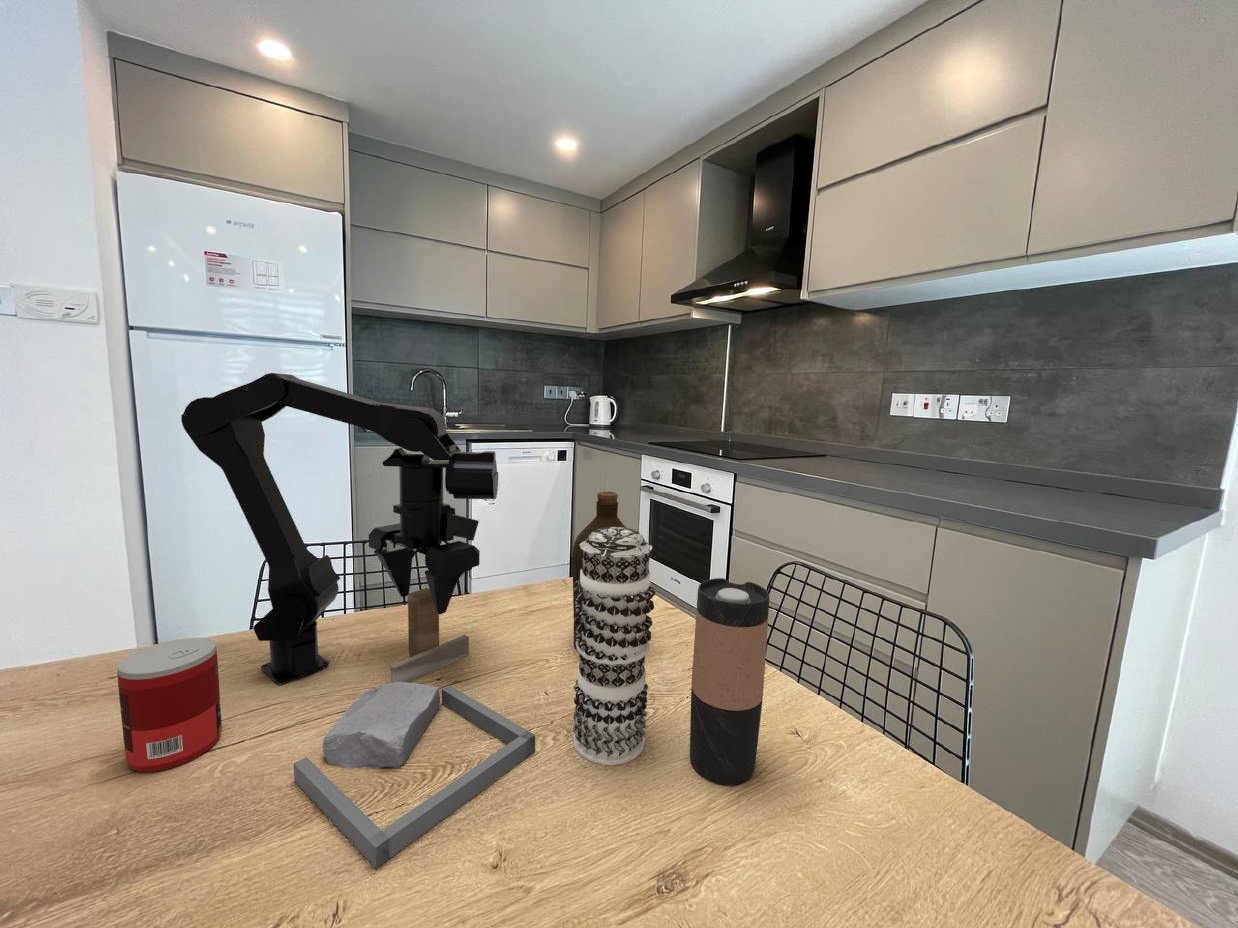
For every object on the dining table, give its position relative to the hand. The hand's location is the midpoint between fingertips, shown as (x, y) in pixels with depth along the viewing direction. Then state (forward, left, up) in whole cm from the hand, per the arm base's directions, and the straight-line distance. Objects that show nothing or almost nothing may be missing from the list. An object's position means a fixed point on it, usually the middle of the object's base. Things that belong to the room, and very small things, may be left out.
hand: (422, 604), depth 73 cm
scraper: (0, 0, -9) cm, 9 cm away
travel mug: (+43, +9, -10) cm, 45 cm away
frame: (+17, -12, -9) cm, 23 cm away
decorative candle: (+31, +4, -10) cm, 33 cm away
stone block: (+10, -12, -10) cm, 18 cm away
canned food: (-5, -27, -10) cm, 29 cm away
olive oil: (+16, +22, -10) cm, 29 cm away
